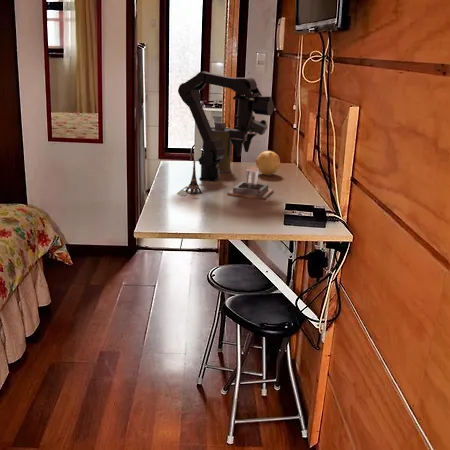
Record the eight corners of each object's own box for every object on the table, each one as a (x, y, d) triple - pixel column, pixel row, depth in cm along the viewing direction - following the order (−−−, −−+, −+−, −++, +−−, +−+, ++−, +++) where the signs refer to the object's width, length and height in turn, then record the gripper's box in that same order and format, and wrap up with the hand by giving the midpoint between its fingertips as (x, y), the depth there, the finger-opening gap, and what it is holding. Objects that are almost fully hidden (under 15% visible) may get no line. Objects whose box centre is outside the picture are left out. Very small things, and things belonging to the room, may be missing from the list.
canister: (201, 169, 239) (202, 122, 233) (215, 165, 248) (216, 119, 241) (223, 173, 234) (225, 125, 227) (236, 169, 242) (238, 122, 236)
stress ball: (261, 173, 241) (247, 160, 235) (276, 156, 240) (263, 142, 234) (272, 182, 233) (259, 169, 227) (288, 164, 233) (275, 151, 226)
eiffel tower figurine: (186, 187, 213) (186, 152, 209) (211, 190, 211) (212, 155, 207) (172, 197, 199) (172, 160, 195) (199, 200, 197) (200, 163, 193)
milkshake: (242, 189, 208) (243, 162, 205) (256, 189, 209) (258, 163, 206) (243, 192, 204) (245, 165, 201) (258, 192, 205) (260, 165, 201)
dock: (227, 194, 204) (227, 187, 203) (237, 187, 214) (237, 180, 214) (264, 199, 199) (265, 192, 199) (273, 191, 210) (273, 184, 209)
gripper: (258, 117, 199) (255, 161, 204) (272, 111, 216) (269, 152, 221) (228, 114, 202) (226, 157, 207) (245, 109, 219) (242, 149, 224)
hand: (242, 154), depth 215 cm, fingers open, 9 cm apart
